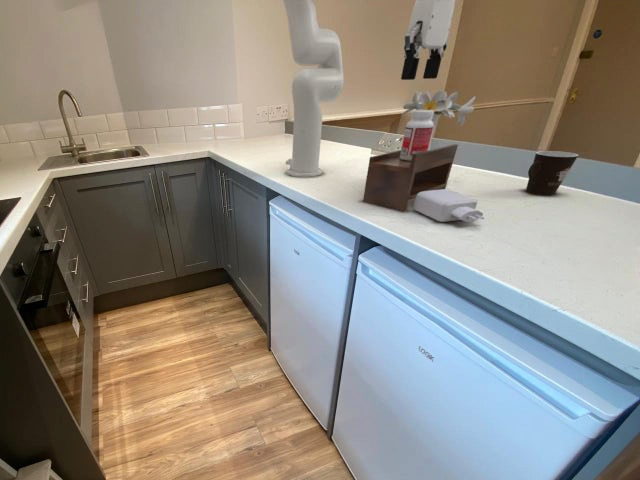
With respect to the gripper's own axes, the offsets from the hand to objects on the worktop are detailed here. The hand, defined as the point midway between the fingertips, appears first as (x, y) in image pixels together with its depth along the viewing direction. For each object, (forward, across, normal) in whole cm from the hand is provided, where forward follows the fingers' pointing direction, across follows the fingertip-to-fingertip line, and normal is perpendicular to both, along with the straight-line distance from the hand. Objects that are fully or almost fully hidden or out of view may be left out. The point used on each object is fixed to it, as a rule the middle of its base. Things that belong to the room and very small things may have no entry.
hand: (419, 79), depth 80 cm
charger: (+28, +7, +19) cm, 34 cm away
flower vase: (+28, -20, -4) cm, 35 cm away
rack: (+28, 0, +3) cm, 28 cm away
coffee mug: (+28, -30, +24) cm, 47 cm away
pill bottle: (+18, 0, +3) cm, 18 cm away
